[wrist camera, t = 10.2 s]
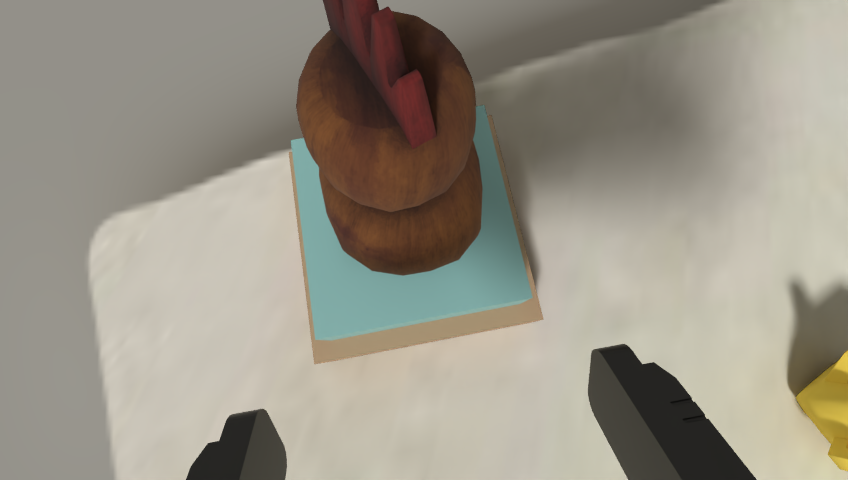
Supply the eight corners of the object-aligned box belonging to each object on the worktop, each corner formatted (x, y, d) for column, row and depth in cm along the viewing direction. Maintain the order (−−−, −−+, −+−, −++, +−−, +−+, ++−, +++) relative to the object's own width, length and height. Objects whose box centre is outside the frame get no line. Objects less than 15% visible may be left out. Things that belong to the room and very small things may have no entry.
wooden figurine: (341, 163, 21) (133, -244, 7) (455, 144, 21) (502, -297, 7) (358, 297, 19) (132, 156, 5) (482, 277, 20) (621, 77, 5)
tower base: (485, 139, 28) (499, 84, 22) (530, 322, 25) (560, 315, 19) (304, 172, 28) (269, 126, 22) (328, 361, 25) (295, 366, 19)
